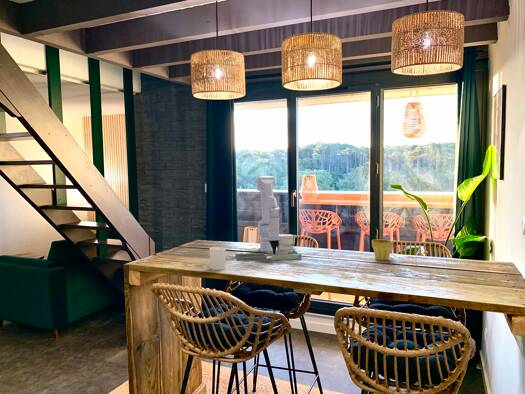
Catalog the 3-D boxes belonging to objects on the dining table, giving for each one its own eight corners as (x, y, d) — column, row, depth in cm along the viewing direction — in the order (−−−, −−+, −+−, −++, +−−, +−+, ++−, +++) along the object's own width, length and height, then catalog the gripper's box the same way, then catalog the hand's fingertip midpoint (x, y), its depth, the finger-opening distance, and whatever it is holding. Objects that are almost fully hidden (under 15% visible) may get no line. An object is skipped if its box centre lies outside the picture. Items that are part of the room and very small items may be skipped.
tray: (267, 254, 228) (267, 250, 228) (295, 253, 230) (295, 249, 230) (271, 260, 214) (271, 255, 214) (301, 258, 216) (301, 254, 216)
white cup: (206, 268, 197) (206, 248, 196) (218, 265, 202) (218, 246, 202) (217, 271, 191) (216, 250, 191) (229, 268, 197) (229, 248, 196)
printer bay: (235, 256, 223) (235, 254, 222) (264, 255, 225) (264, 252, 225) (236, 260, 214) (236, 257, 214) (266, 259, 216) (266, 256, 216)
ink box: (291, 254, 226) (291, 234, 225) (293, 256, 221) (293, 235, 220) (276, 255, 225) (276, 234, 224) (278, 257, 220) (278, 235, 219)
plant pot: (373, 261, 210) (373, 242, 209) (370, 256, 220) (370, 239, 219) (393, 261, 209) (394, 242, 208) (389, 257, 219) (390, 239, 218)
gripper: (261, 231, 215) (262, 256, 216) (288, 230, 217) (288, 255, 218) (260, 229, 222) (260, 253, 223) (285, 228, 224) (286, 252, 225)
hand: (274, 254), depth 221 cm, fingers closed
